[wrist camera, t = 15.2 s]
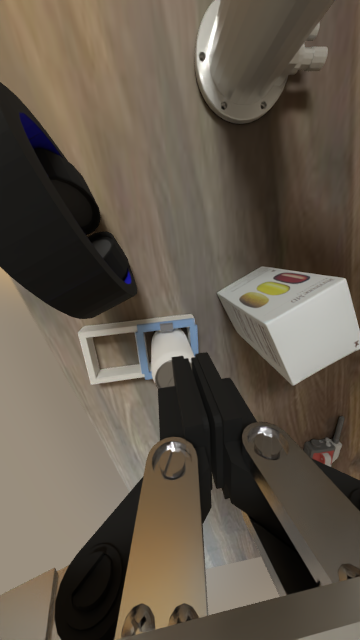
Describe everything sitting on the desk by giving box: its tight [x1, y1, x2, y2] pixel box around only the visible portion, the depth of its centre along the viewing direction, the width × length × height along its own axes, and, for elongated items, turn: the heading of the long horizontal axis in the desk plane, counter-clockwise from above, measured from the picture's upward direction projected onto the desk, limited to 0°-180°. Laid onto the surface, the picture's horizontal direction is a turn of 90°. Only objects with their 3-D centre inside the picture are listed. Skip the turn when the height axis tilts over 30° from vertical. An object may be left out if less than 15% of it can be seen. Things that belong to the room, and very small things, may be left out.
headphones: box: [0, 82, 137, 319], centre depth 22 cm, size 19×7×20 cm, turn 27°
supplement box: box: [217, 266, 360, 385], centre depth 30 cm, size 10×9×17 cm
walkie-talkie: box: [303, 416, 344, 467], centre depth 51 cm, size 9×4×20 cm
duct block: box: [78, 314, 198, 385], centre depth 35 cm, size 19×10×5 cm, turn 95°
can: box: [151, 328, 195, 388], centre depth 32 cm, size 6×6×12 cm
